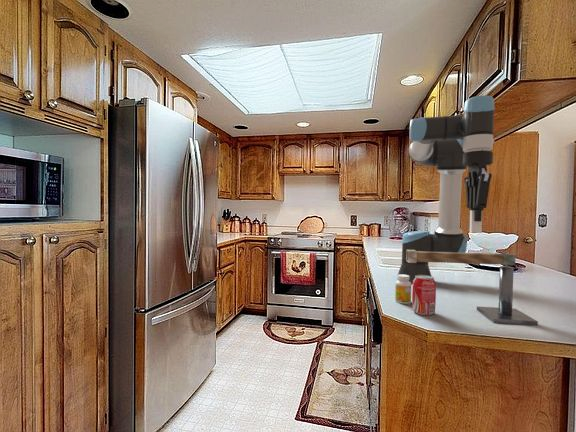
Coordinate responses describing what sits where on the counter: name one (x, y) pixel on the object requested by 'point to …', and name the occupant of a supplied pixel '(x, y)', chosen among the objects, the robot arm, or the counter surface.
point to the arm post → (506, 303)
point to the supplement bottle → (403, 289)
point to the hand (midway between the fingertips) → (475, 232)
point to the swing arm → (460, 257)
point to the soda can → (424, 295)
